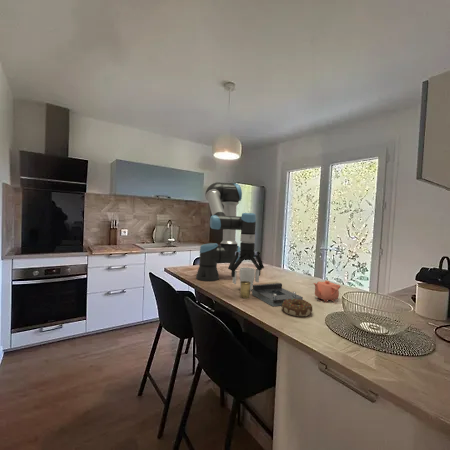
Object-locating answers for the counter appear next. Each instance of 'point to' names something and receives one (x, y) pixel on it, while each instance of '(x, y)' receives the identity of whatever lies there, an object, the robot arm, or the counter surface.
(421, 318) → the counter surface
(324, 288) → the pink piggy bank
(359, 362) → the counter surface
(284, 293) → the jig
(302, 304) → the donut
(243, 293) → the amber grooved cylinder
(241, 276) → the cup
